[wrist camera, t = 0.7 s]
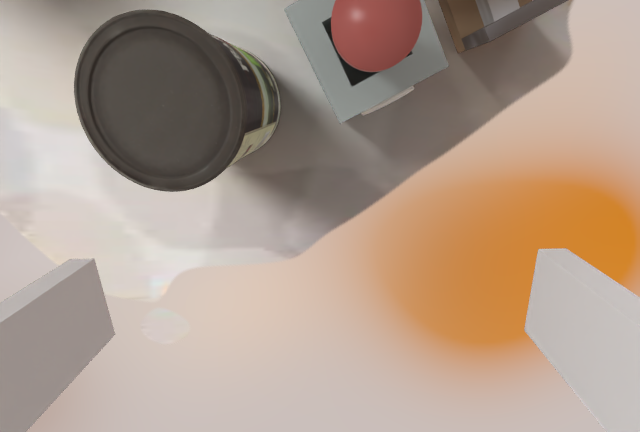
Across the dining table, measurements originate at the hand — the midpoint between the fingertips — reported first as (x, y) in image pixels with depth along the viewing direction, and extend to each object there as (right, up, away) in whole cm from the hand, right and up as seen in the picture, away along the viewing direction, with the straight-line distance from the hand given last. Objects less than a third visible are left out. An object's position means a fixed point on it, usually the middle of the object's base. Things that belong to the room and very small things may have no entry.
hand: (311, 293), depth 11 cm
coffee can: (-9, +13, +24) cm, 29 cm away
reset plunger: (+3, +14, +14) cm, 20 cm away
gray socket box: (+4, +17, +22) cm, 28 cm away
